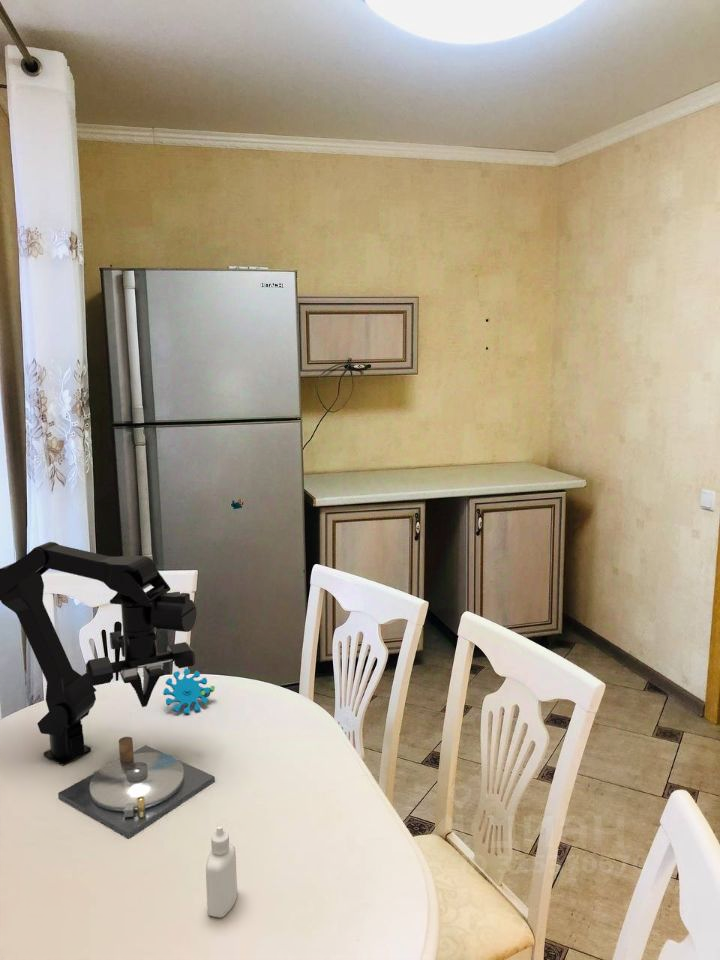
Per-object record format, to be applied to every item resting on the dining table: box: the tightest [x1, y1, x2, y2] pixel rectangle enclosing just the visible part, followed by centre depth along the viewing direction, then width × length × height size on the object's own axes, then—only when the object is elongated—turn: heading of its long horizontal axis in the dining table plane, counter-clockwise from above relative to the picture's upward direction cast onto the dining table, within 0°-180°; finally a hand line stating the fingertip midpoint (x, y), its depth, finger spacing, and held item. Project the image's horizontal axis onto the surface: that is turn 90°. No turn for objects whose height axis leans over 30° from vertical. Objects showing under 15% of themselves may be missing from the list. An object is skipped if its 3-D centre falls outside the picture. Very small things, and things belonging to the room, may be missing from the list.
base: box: [57, 744, 216, 839], centre depth 129 cm, size 19×19×4 cm
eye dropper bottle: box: [205, 825, 238, 918], centre depth 101 cm, size 4×6×12 cm
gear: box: [162, 668, 216, 715], centre depth 160 cm, size 11×6×10 cm
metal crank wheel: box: [90, 736, 184, 817], centre depth 128 cm, size 16×18×5 cm
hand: (143, 705), depth 135 cm, fingers closed
